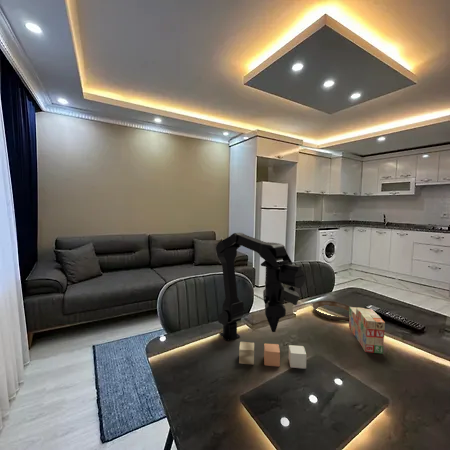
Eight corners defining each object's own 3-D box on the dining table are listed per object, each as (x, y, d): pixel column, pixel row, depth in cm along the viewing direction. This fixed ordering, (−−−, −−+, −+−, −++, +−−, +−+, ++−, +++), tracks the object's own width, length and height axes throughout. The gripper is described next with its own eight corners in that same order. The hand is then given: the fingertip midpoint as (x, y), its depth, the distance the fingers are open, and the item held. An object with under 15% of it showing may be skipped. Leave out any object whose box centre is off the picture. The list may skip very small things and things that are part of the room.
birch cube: (239, 363, 86) (239, 349, 86) (239, 355, 91) (240, 341, 90) (253, 364, 85) (254, 350, 85) (253, 356, 90) (254, 342, 90)
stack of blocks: (348, 326, 115) (349, 300, 114) (363, 327, 114) (364, 301, 113) (365, 352, 94) (366, 320, 93) (383, 354, 93) (385, 321, 92)
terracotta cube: (264, 365, 85) (264, 351, 85) (263, 356, 90) (264, 343, 90) (279, 366, 84) (280, 352, 84) (278, 358, 89) (278, 344, 89)
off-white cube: (290, 367, 84) (290, 353, 84) (288, 358, 89) (288, 345, 89) (305, 368, 83) (306, 354, 83) (303, 359, 88) (303, 346, 88)
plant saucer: (364, 323, 118) (365, 316, 118) (320, 322, 119) (320, 315, 119) (344, 306, 139) (344, 300, 139) (307, 306, 139) (307, 300, 139)
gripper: (303, 290, 75) (301, 341, 76) (293, 274, 94) (292, 315, 95) (266, 288, 77) (264, 338, 78) (263, 273, 95) (262, 313, 96)
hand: (272, 325), depth 86 cm, fingers open, 9 cm apart
